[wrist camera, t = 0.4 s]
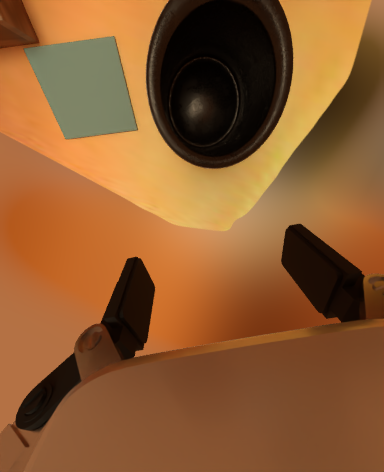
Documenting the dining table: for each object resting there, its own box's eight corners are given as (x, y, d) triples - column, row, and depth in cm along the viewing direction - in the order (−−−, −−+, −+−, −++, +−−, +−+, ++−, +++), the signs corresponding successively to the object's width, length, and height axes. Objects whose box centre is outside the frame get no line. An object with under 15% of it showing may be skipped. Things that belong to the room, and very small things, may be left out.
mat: (25, 49, 25) (23, 48, 25) (114, 37, 25) (113, 36, 25) (66, 139, 32) (65, 139, 31) (137, 129, 32) (137, 129, 31)
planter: (154, 143, 33) (138, 152, 20) (167, 27, 25) (154, -87, 12) (227, 163, 36) (253, 182, 23) (260, 65, 28) (331, 9, 15)
